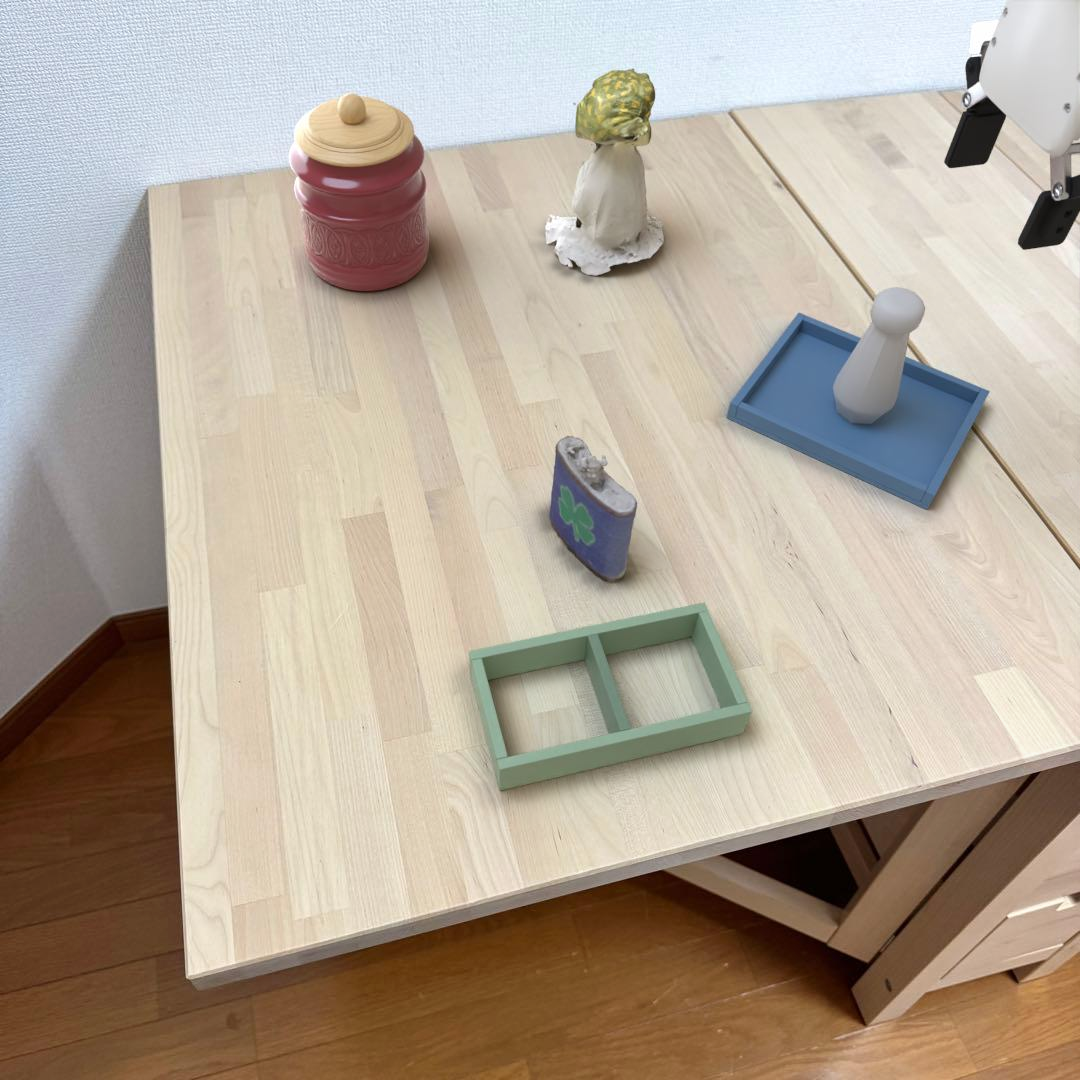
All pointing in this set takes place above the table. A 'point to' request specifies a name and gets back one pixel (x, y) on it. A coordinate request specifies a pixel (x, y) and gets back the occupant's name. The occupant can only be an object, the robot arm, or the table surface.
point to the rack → (609, 693)
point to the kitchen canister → (360, 193)
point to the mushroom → (610, 179)
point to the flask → (591, 510)
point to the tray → (858, 449)
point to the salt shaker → (878, 357)
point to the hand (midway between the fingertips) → (1000, 202)
